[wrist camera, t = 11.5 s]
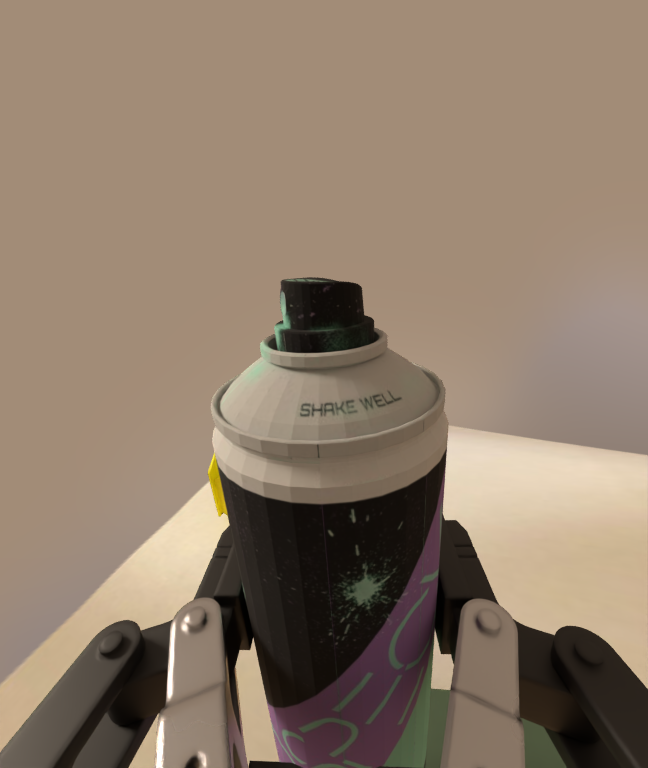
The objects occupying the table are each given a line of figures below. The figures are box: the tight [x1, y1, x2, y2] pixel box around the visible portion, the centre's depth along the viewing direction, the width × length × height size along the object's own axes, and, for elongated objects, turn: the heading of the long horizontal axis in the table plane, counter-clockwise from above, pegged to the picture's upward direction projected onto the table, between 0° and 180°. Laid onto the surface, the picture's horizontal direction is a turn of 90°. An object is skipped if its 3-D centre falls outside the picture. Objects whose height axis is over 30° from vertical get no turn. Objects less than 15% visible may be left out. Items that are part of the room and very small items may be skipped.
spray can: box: [211, 278, 448, 768], centre depth 11 cm, size 6×6×20 cm
